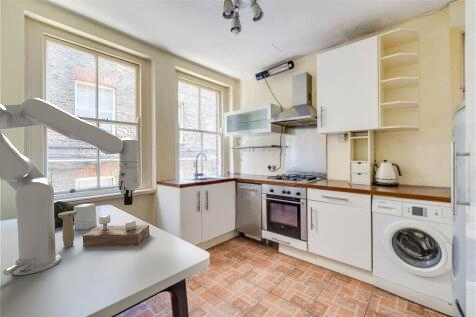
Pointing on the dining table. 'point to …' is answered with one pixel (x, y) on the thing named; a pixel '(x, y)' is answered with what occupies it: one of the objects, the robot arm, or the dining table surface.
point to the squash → (61, 211)
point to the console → (115, 236)
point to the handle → (68, 227)
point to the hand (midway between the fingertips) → (128, 204)
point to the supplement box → (85, 216)
